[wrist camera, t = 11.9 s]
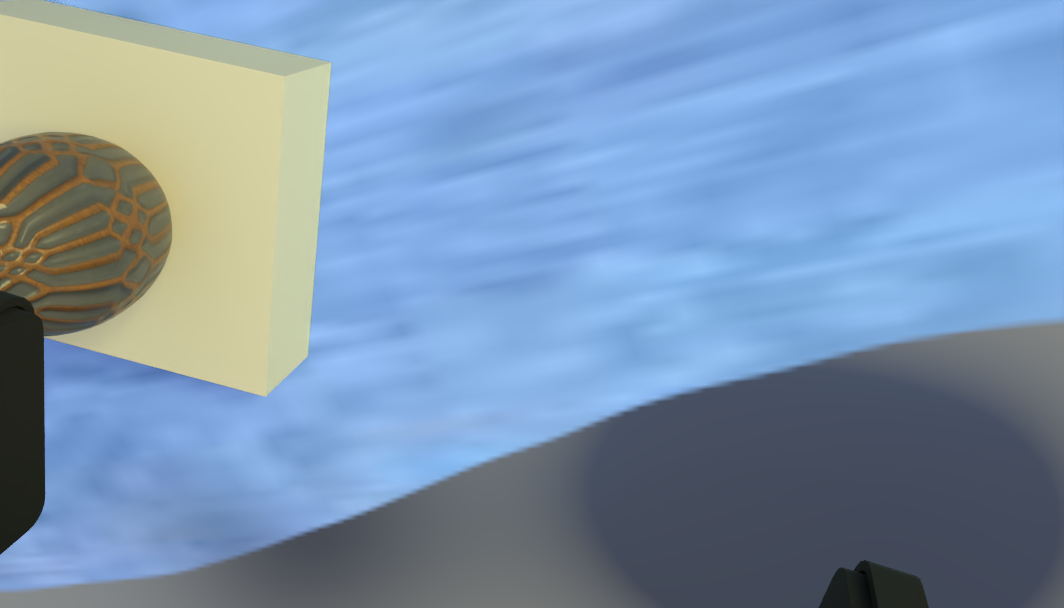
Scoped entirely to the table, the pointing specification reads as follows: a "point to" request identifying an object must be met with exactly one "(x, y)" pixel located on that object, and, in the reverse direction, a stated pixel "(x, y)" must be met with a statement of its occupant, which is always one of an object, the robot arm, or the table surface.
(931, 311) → the table surface
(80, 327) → the vase
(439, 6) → the table surface
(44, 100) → the plinth
